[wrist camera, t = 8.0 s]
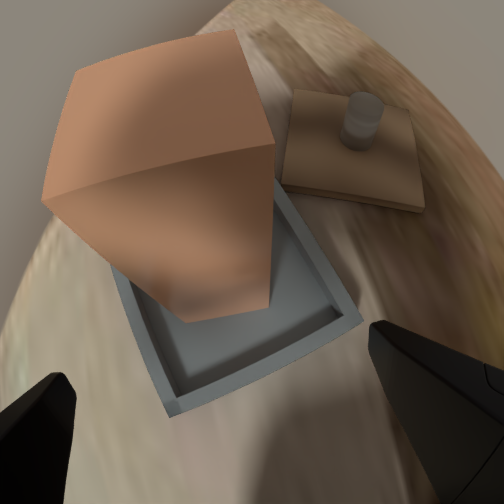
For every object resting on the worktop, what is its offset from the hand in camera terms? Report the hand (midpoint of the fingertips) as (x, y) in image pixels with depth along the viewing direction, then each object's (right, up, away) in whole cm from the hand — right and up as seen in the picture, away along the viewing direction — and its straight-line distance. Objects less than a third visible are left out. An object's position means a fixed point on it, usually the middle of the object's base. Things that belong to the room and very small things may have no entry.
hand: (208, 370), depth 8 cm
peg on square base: (+9, +11, +14) cm, 20 cm away
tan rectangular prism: (-1, +2, +10) cm, 10 cm away
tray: (-1, +1, +11) cm, 11 cm away
